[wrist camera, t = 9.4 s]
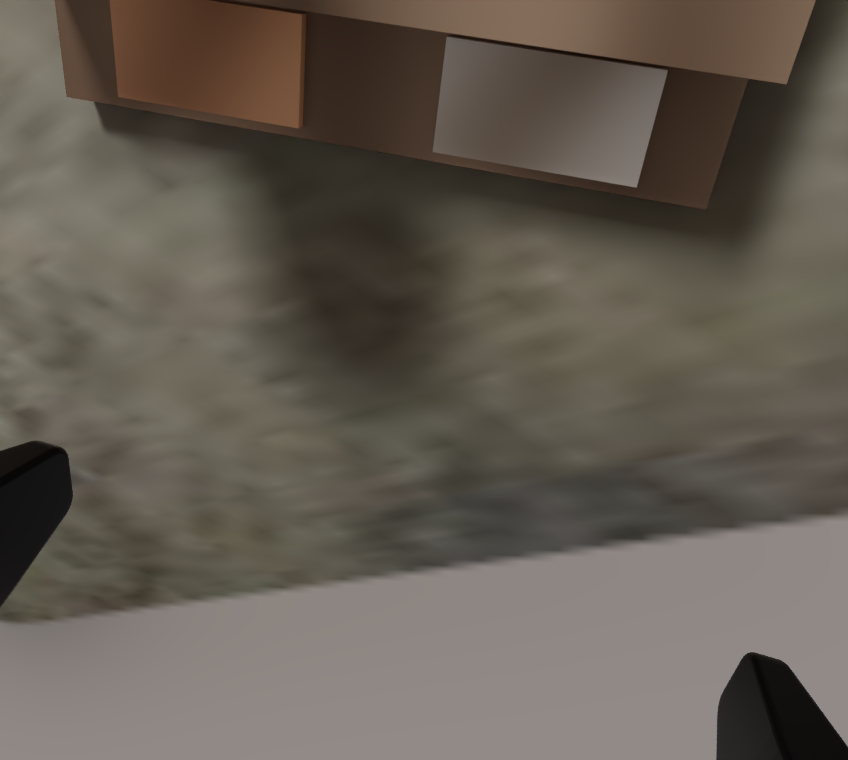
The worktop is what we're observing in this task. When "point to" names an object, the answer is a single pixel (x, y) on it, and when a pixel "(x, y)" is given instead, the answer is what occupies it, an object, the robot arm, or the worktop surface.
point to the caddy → (454, 77)
